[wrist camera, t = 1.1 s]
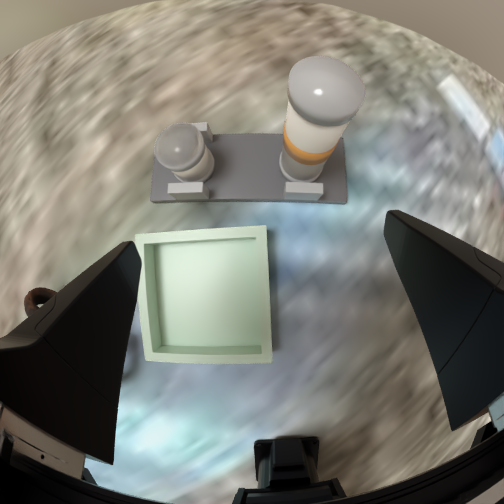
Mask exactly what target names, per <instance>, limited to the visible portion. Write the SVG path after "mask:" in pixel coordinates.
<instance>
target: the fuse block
mask: <svg viewBox="0 0 504 504" xmlns="http://www.w3.org/2000/svg"><path fill="white" fill-rule="evenodd" d="M190 124H192V125H194V126H196V127H197V128H198V129H199V131H200V132H201V134H202V136H203V138H204V140H205V145H206V146H207V148H208V149H209V150H210V151H211V153H212V155H213V157H214V159H215V170H214V172H213V174H212V176H211V177H210V179H208V180H207V181H206V182H205V183H203V182H188V183H182V182H181V181H180V180H179V179H177V178H176V176H175V175H174V173H173V172H172V171H170V170H168V169H167V168H165V167H164V166H163V165H162V164H161V163H160V162H159V161H158V160H157V158H156V156H155V157H154V165H153V175H152V185H151V196H150V201H151V202H153V203H170V202H219V201H254V202H303V203H329V204H345V203H346V202H347V187H346V170H345V156H344V145H343V138H341V137H340V139H339V142H338V144H337V145H336V147H335V149H334V150H333V152H332V154H331V155H330V157H329V158H328V159H327V161H326V162H325V164H324V166H323V169H322V172H321V173H320V175H319V177H318V178H317V179H316V180H315V181H314V182H313V183H307V182H288V181H287V180H286V179H285V178H284V177H283V176H282V174H281V172H280V169H279V160H280V154H281V152H282V147H283V134H284V131H283V134H218V135H213V134H212V132H211V129H210V127H209V125H208V123H207V122H202V123H190ZM284 126H285V123H284Z"/></svg>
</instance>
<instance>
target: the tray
mask: <svg viewBox="0 0 504 504" xmlns="http://www.w3.org/2000/svg"><path fill="white" fill-rule="evenodd" d="M135 245H136V248H137V250H138V253H139V255H140V257H141V260H142V268H141V275H140V282H139V290H138V303H139V313H140V323H141V331H142V339H143V347H144V354H145V360H146V361H157V362H173V363H195V364H258V363H272V338H271V314H270V291H269V271H268V251H267V233H266V225H264V226H246V227H229V228H214V229H199V230H185V231H172V232H159V233H147V234H136V235H135Z"/></svg>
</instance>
